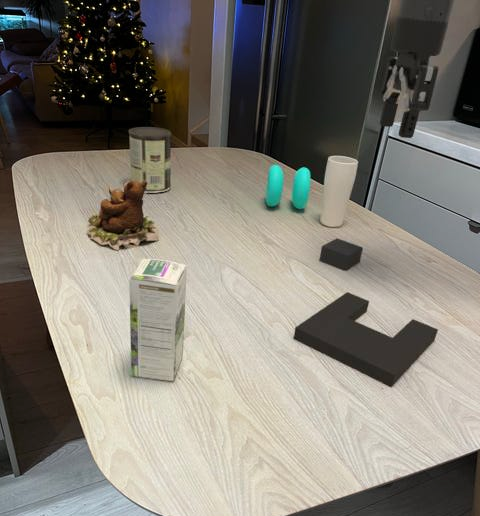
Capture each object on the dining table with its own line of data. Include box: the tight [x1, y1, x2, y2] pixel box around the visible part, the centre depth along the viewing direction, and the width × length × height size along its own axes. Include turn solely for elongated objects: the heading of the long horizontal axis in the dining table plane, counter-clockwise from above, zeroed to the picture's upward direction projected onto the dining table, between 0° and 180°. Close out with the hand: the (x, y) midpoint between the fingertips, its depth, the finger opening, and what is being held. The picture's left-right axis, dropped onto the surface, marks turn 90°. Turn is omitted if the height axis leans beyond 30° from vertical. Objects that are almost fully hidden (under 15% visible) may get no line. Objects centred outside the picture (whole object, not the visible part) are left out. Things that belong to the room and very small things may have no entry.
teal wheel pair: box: [265, 164, 312, 210], centre depth 122 cm, size 10×10×10 cm
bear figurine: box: [86, 180, 160, 251], centre depth 99 cm, size 14×15×12 cm
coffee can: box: [128, 126, 172, 194], centre depth 125 cm, size 10×10×14 cm
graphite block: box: [318, 238, 364, 272], centre depth 99 cm, size 6×6×3 cm
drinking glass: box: [319, 155, 359, 228], centre depth 113 cm, size 7×7×15 cm
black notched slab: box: [293, 291, 439, 388], centre depth 76 cm, size 16×16×2 cm
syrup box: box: [128, 258, 188, 382], centre depth 62 cm, size 6×6×14 cm
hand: (395, 131), depth 82 cm, fingers open, 8 cm apart
